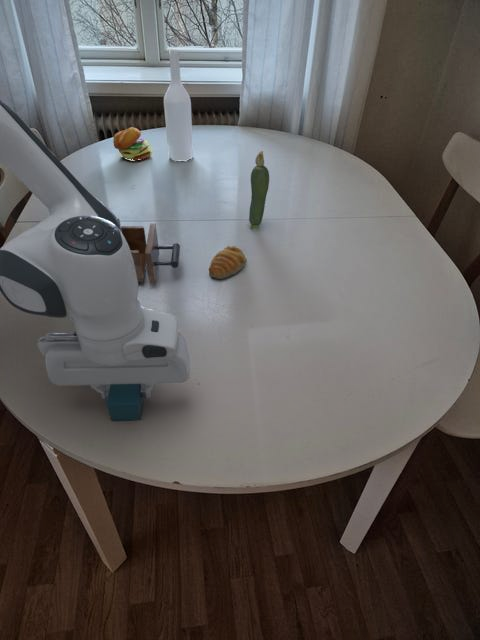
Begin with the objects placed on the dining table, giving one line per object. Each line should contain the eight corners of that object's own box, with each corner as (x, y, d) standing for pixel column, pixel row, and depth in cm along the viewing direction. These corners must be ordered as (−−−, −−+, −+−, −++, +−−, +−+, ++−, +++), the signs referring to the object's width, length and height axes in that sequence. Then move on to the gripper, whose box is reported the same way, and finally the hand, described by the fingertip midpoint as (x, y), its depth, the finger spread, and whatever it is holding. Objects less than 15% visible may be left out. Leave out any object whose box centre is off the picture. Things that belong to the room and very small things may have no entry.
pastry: (227, 285, 92) (227, 270, 89) (200, 275, 94) (200, 261, 91) (248, 263, 98) (249, 249, 95) (223, 254, 100) (223, 240, 97)
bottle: (172, 163, 136) (162, 54, 115) (165, 153, 141) (156, 48, 121) (196, 160, 138) (191, 52, 118) (189, 151, 144) (183, 46, 123)
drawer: (181, 253, 98) (179, 223, 93) (179, 284, 90) (176, 253, 85) (103, 254, 97) (96, 223, 92) (94, 285, 89) (86, 254, 84)
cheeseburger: (154, 161, 136) (143, 130, 129) (122, 171, 136) (109, 141, 129) (152, 148, 143) (141, 118, 136) (121, 158, 143) (109, 128, 136)
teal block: (140, 419, 66) (137, 404, 64) (111, 420, 66) (106, 405, 63) (145, 383, 71) (142, 368, 69) (117, 384, 71) (113, 368, 68)
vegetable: (250, 222, 111) (254, 144, 97) (266, 224, 110) (272, 146, 97) (246, 231, 108) (250, 151, 94) (263, 233, 107) (269, 153, 93)
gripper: (26, 351, 55) (54, 413, 65) (186, 348, 56) (191, 409, 66) (40, 318, 60) (64, 380, 69) (187, 315, 61) (192, 377, 71)
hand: (127, 394), depth 68 cm, fingers closed on teal block, 4 cm apart
